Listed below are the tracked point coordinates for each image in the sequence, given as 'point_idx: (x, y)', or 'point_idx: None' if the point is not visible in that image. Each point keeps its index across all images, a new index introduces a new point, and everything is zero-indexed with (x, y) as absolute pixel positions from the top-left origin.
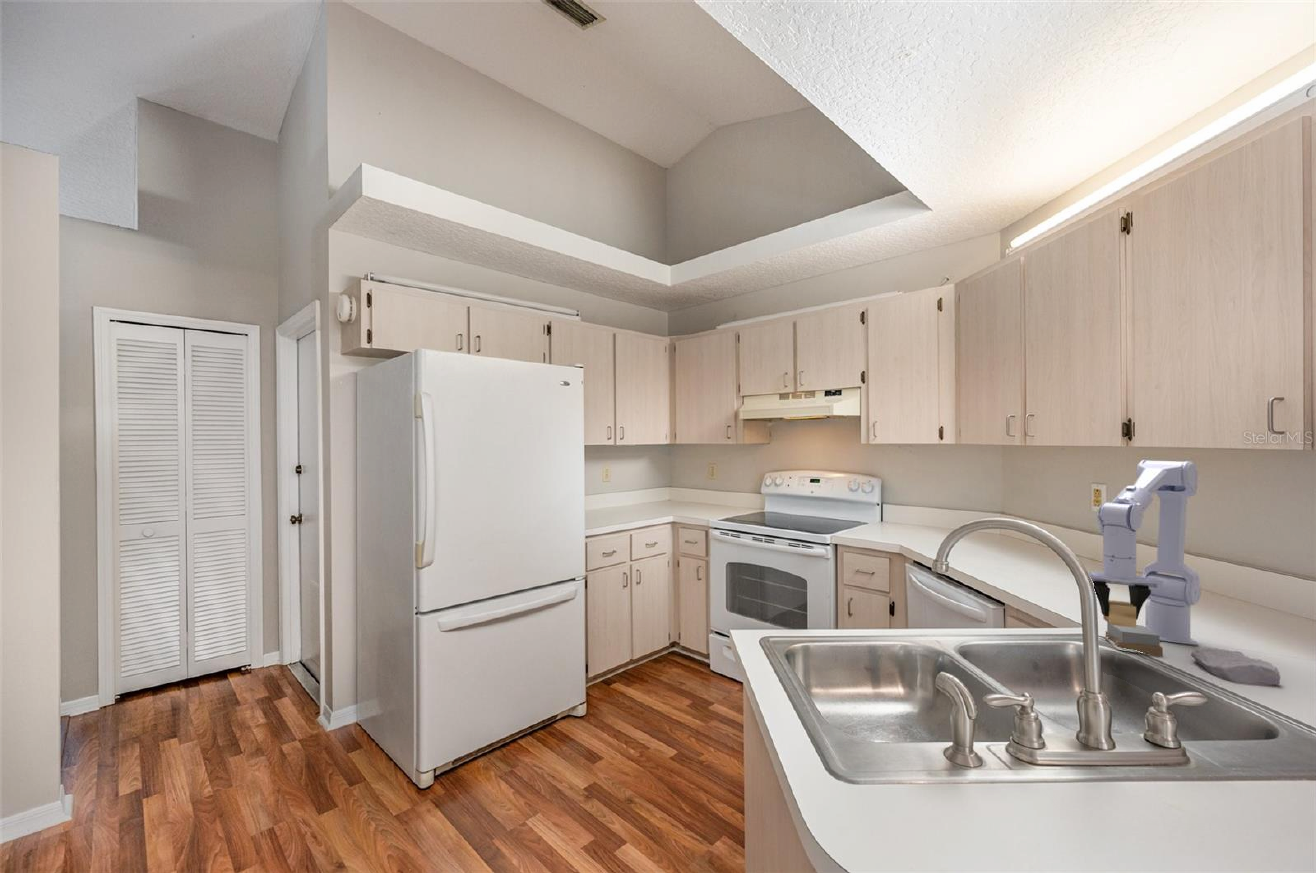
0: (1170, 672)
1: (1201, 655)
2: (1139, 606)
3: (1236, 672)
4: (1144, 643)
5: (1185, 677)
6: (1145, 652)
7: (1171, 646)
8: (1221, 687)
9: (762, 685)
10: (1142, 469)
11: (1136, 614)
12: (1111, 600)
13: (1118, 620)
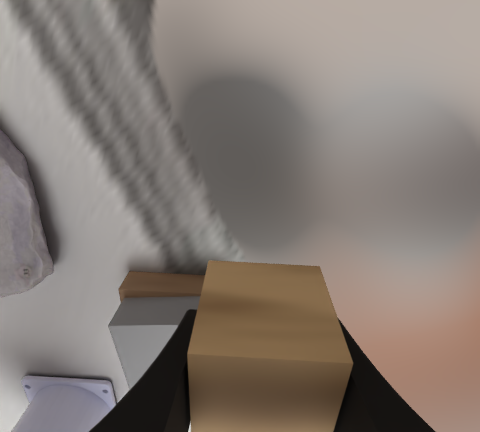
0: (149, 125)
1: (22, 243)
2: (159, 373)
3: None
4: (163, 300)
5: (115, 90)
6: (169, 277)
7: (86, 354)
8: (23, 24)
9: None
10: None
11: (187, 328)
12: None
13: (287, 283)
